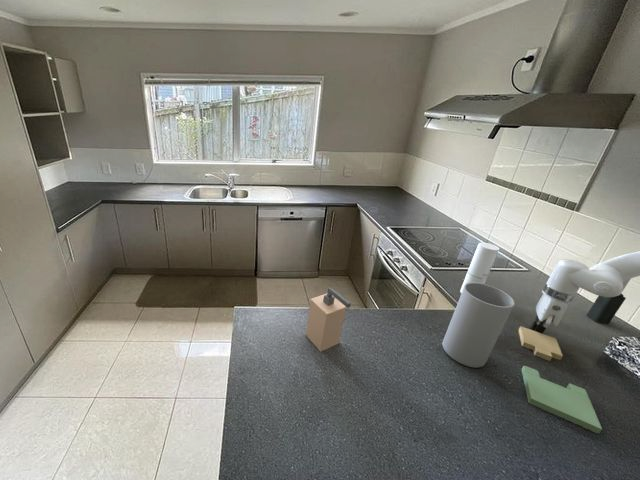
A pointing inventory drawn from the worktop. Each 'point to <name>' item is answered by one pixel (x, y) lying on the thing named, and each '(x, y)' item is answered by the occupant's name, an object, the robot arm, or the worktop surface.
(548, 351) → the small pad
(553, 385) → the big pad
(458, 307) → the cylinder vase
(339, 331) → the soap dispenser
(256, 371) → the worktop surface
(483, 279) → the cylindrical container
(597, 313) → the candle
